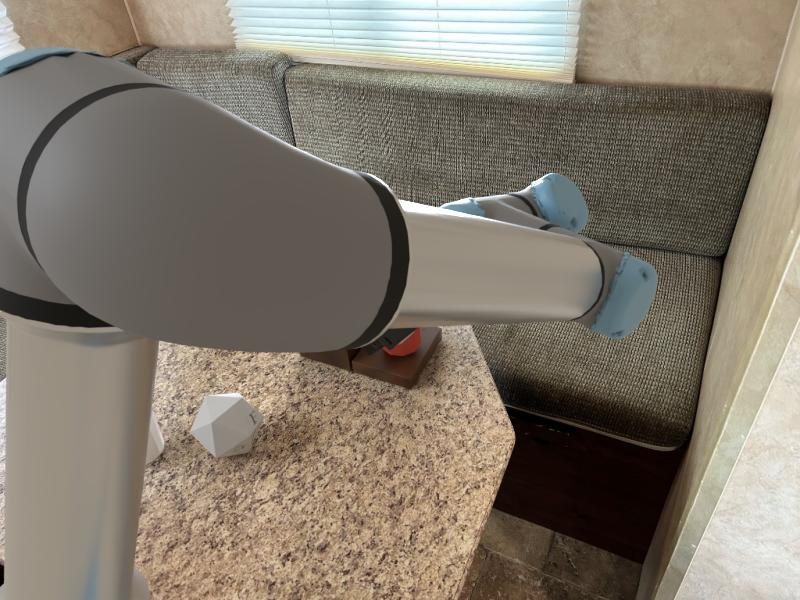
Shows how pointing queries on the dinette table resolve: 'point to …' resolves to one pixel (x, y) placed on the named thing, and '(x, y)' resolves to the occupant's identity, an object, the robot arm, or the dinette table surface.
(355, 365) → the wooden l-shaped step
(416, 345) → the beverage can
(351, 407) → the dinette table surface
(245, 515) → the dinette table surface
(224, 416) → the die
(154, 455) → the shot glass
